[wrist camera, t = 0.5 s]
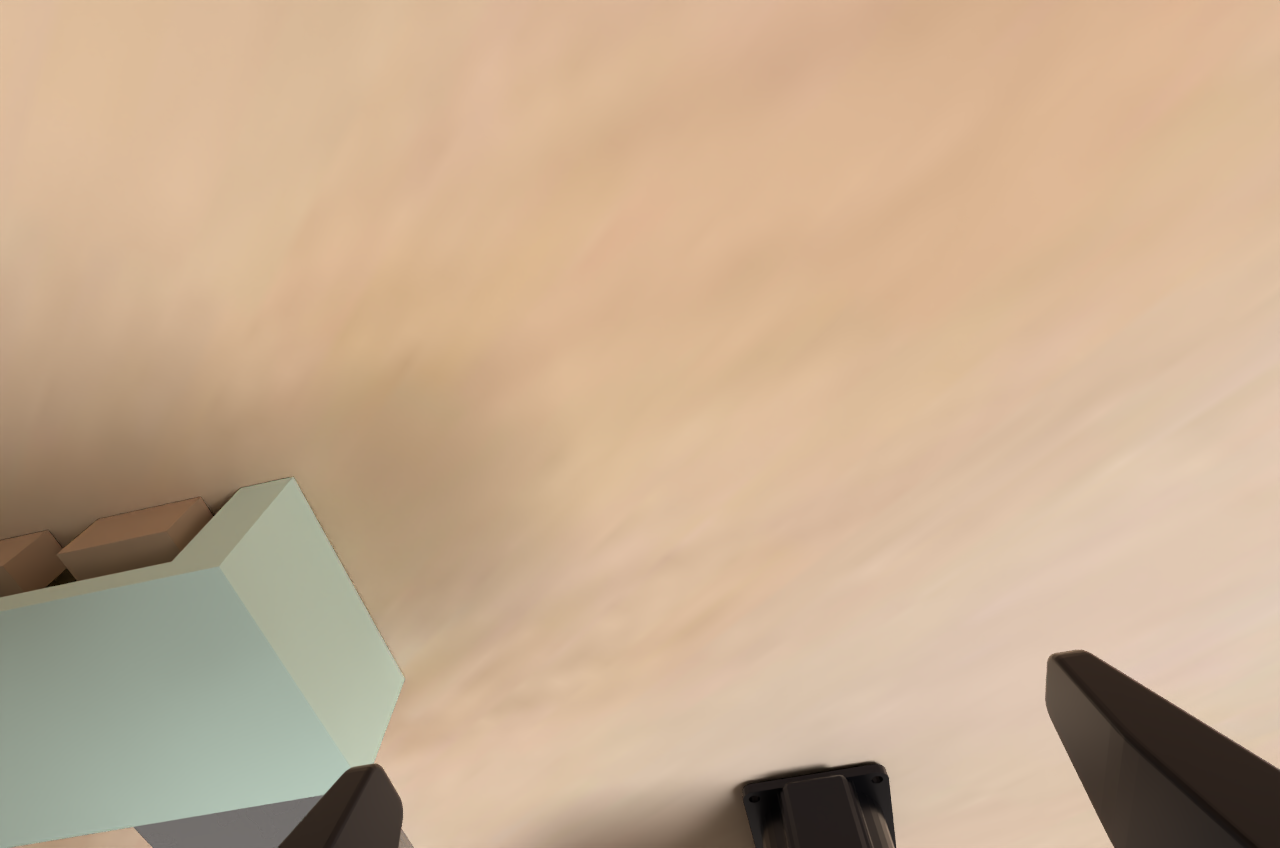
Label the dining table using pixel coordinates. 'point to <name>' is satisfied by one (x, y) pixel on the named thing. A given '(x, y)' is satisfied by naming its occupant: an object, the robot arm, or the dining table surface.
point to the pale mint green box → (182, 667)
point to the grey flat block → (235, 827)
